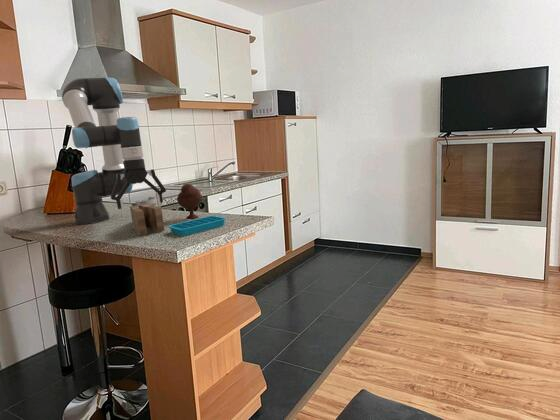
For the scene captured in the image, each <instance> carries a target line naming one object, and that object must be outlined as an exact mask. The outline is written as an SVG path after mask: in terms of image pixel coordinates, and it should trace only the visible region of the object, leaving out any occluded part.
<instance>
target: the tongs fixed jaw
mask: <svg viewBox="0 0 560 420" xmlns="http://www.w3.org/2000/svg"><path fill="white" fill-rule="evenodd" d="M138 205H140V203H135V202H133V203H131V206H129V209H130V215H131V221H132V227H133V230H134V231H135V232H136V233H137V235H138V236H139V237H145V236H148V233H147V231H148V230H147V228H146V224H145V218H144V212H143V210H142V209H140V208H139V206H138Z"/></svg>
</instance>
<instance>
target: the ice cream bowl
mask: <svg viewBox="0 0 560 420" xmlns="http://www.w3.org/2000/svg"><path fill="white" fill-rule="evenodd" d="M202 200H203V194H201V192H200V190H199V189H198V188H197V187H194V185H192V184H190V183H185V184H183V185H182V187H181V189H180V192H179V193H178V194H177V198H176V201H177V203H178V205H179V206H180V207H181V208H183V209H186V210H188V212H189V214H188V215H187V216H186V219H185V220H187V219H192V220H195V219H196V218H197V219H199V215H197V214H194V209H197V207H198V206H199V205H200V204H201V203H202Z"/></svg>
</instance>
